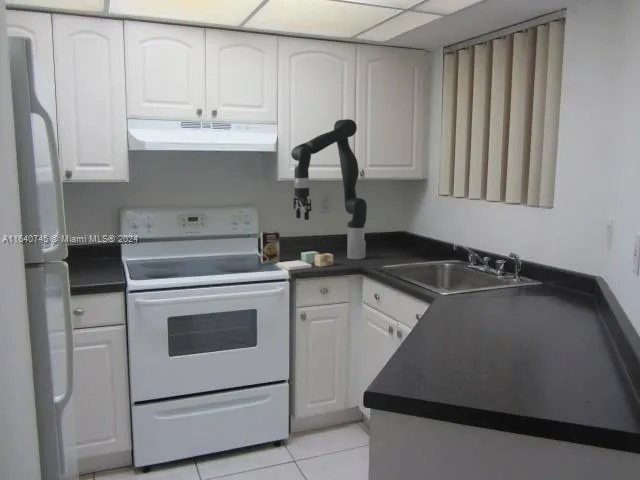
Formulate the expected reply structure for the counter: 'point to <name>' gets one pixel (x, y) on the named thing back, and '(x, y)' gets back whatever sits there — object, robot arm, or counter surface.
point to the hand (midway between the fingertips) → (302, 218)
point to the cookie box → (269, 247)
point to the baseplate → (294, 265)
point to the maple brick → (323, 259)
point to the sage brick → (308, 257)
